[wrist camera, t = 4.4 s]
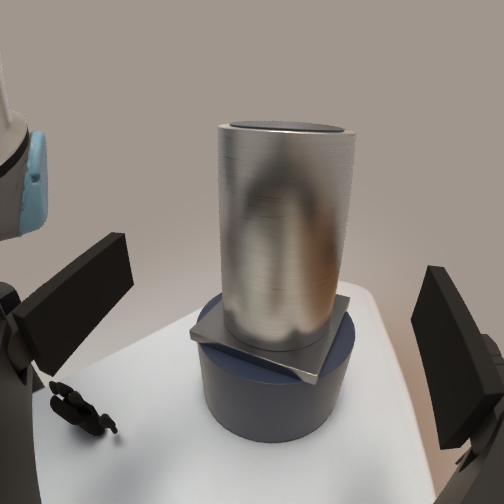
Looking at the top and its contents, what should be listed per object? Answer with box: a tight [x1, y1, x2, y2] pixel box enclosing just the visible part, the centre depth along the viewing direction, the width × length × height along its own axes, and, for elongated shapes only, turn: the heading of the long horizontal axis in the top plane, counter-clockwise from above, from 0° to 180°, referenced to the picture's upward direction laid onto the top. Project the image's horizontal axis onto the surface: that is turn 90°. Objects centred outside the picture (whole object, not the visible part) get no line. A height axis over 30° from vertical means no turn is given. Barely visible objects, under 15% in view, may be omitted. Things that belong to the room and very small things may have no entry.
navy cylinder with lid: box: [190, 293, 355, 443], centre depth 23 cm, size 11×11×8 cm
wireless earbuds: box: [49, 381, 118, 436], centre depth 18 cm, size 7×2×5 cm, turn 70°
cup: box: [218, 121, 356, 351], centre depth 18 cm, size 7×7×12 cm
